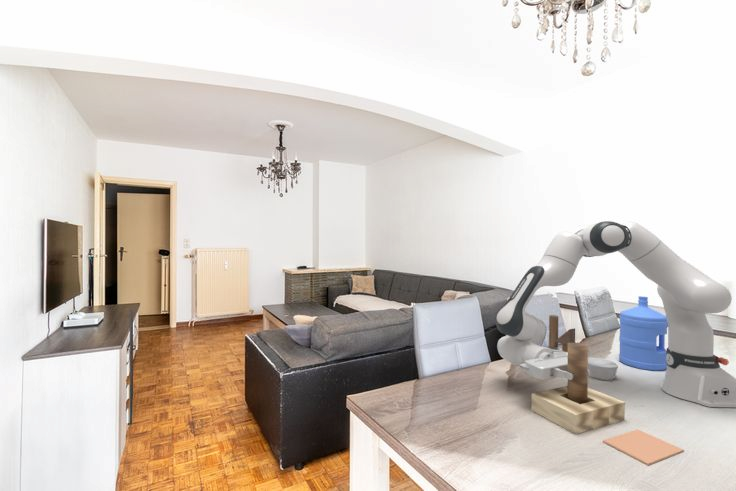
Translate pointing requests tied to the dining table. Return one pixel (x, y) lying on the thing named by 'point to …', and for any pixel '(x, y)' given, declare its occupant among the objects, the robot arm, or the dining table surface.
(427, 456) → the dining table surface
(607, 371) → the ramekin
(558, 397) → the slotted wood base
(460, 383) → the dining table surface
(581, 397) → the walnut key peg
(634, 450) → the terracotta mat
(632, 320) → the water jug
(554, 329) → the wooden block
